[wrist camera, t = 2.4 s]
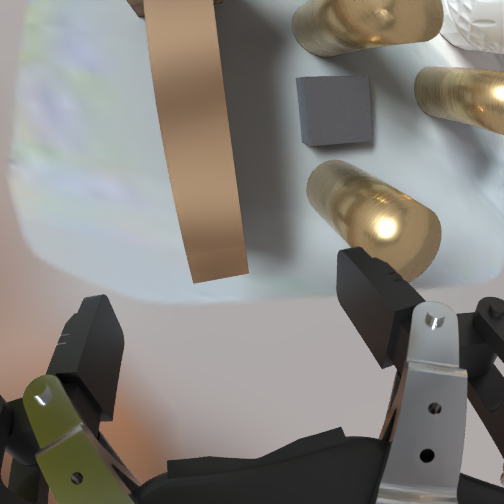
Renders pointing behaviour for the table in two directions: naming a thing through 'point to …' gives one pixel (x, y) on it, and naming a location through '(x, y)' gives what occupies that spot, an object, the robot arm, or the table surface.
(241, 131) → the table surface
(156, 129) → the table surface
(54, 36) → the table surface
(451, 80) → the cylinder
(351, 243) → the cylinder
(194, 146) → the rake
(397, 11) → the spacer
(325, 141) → the grey square block
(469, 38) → the white cup
